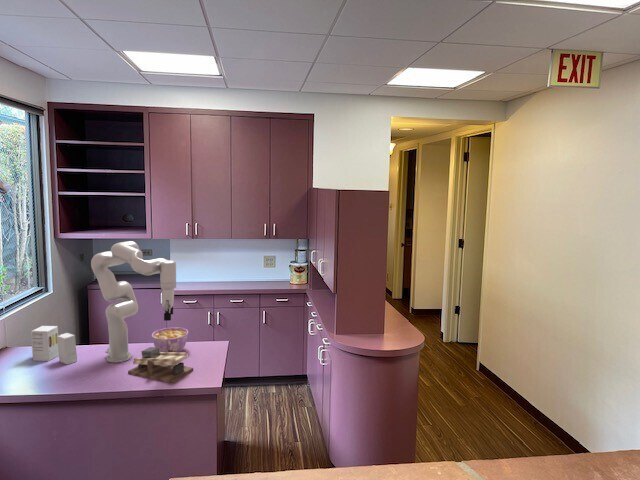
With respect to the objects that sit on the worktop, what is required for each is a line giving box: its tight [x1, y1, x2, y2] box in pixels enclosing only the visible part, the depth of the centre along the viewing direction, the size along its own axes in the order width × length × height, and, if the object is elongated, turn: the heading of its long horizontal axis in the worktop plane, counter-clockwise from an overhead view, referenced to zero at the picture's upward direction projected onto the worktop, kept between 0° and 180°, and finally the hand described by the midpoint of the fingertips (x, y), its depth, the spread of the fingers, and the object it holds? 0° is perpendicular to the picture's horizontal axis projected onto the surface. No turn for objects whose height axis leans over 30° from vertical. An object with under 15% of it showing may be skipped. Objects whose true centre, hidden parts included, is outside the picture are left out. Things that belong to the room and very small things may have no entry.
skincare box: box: [57, 332, 78, 365], centre depth 231 cm, size 8×6×15 cm
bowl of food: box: [151, 326, 189, 352], centre depth 247 cm, size 20×20×12 cm
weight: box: [141, 346, 160, 358], centre depth 223 cm, size 6×6×4 cm
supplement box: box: [30, 325, 59, 362], centre depth 236 cm, size 10×9×17 cm
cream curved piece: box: [132, 351, 189, 365], centre depth 221 cm, size 26×14×3 cm, turn 69°
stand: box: [127, 349, 194, 384], centre depth 221 cm, size 28×16×9 cm, turn 69°
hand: (168, 317), depth 220 cm, fingers open, 9 cm apart
